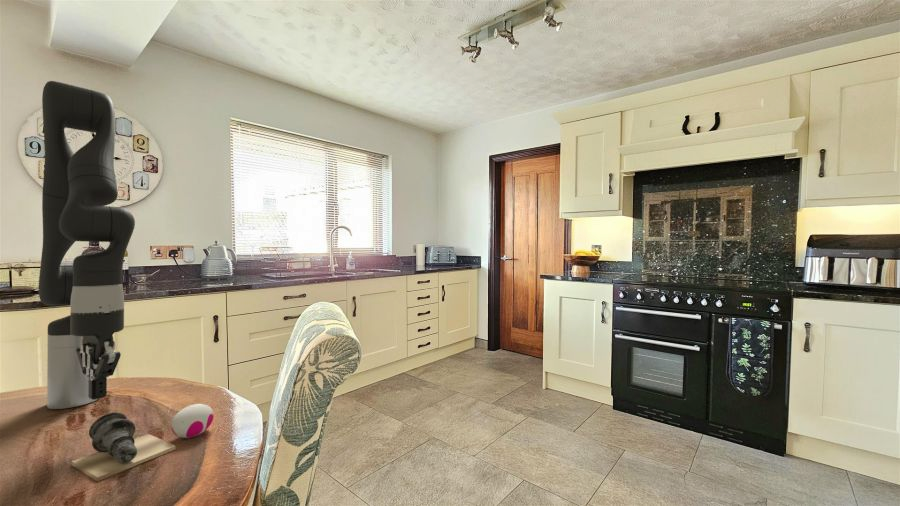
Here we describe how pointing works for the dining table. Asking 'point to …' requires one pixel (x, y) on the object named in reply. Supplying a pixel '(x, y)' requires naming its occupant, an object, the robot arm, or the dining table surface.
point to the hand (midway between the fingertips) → (97, 397)
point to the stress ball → (192, 421)
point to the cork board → (107, 465)
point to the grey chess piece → (114, 436)
